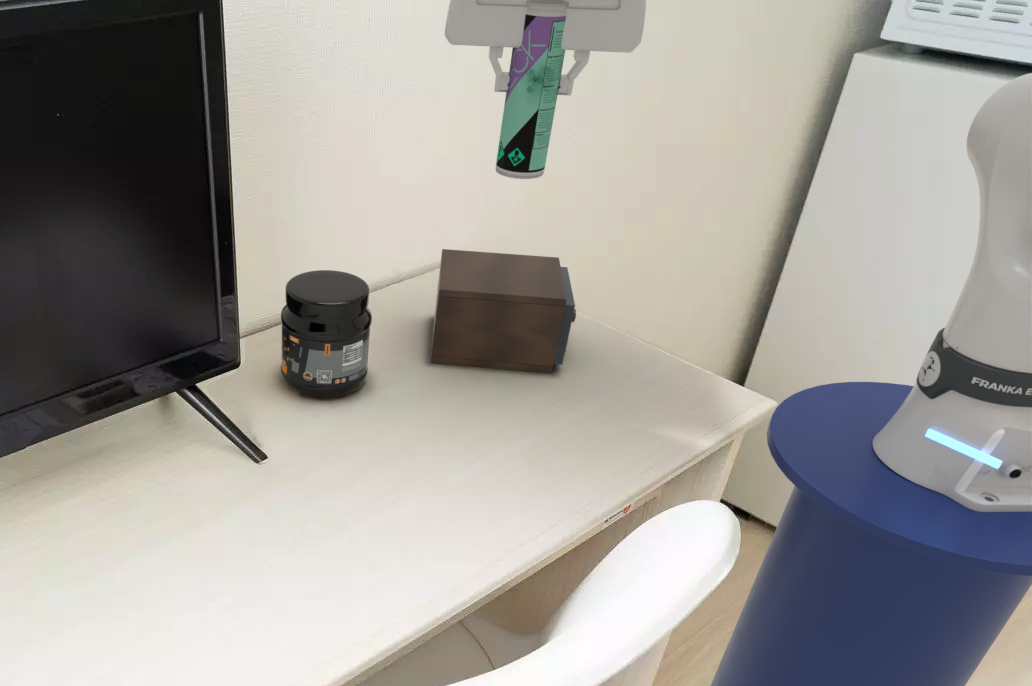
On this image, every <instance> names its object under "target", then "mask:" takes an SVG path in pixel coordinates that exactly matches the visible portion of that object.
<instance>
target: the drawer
mask: <svg viewBox="0 0 1032 686" xmlns="http://www.w3.org/2000/svg"><path fill="white" fill-rule="evenodd" d="M561 272H562V277H563V282H564V288H565V293H566V298H567V301H566V305H565V310H564V315H563V320H562V324H561V329H560V334H559V339H558V344H557V348H556V353H555V358H554V363H553V365H559V366H562V365H563V364H564V359H565V355H566V350H567V345H568V341H569V336H570V332H571V328H572V323H575V322H576V318H577V310H576V303H575V298H574V292H573V288H572V283H571V278H570V274H569V269H568V266H561Z"/></svg>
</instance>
